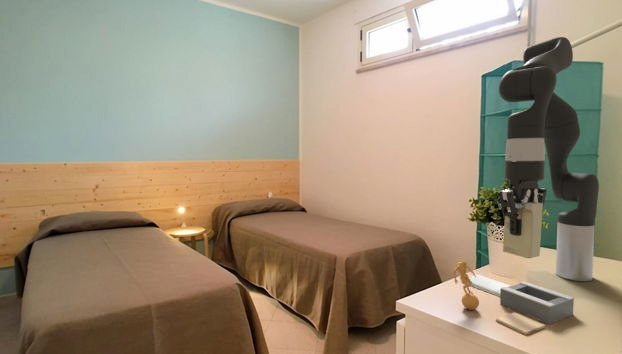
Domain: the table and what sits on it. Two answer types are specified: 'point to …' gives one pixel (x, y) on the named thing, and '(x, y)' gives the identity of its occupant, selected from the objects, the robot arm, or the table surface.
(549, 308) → the socket block
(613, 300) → the table surface
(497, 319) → the cork coaster
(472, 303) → the figurine
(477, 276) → the hard drive
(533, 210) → the skincare box
